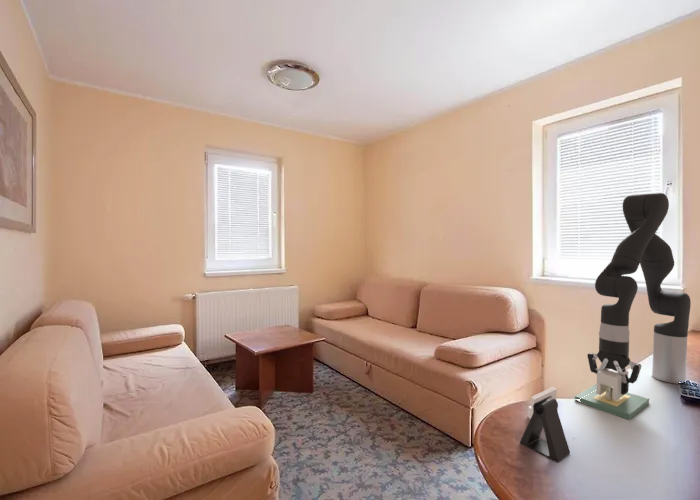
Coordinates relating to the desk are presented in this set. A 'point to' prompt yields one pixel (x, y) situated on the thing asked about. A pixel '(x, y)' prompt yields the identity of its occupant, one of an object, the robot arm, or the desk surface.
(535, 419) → the phone stand
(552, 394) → the white wedge bracket
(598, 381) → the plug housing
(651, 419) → the desk surface
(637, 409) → the header board
